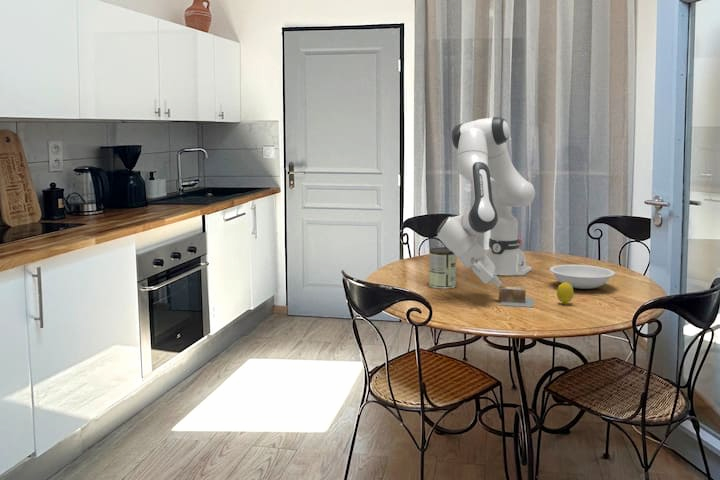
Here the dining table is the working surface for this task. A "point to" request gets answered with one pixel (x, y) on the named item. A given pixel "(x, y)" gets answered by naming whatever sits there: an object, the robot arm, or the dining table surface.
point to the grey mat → (527, 303)
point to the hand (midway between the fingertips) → (500, 285)
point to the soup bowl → (582, 275)
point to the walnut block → (512, 294)
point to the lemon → (565, 292)
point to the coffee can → (442, 268)
